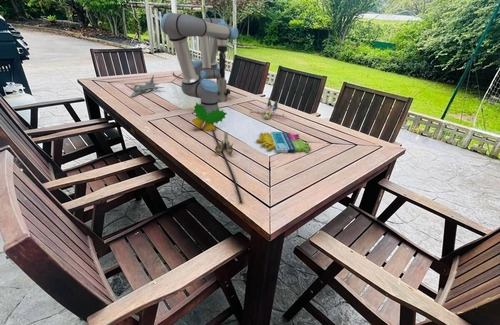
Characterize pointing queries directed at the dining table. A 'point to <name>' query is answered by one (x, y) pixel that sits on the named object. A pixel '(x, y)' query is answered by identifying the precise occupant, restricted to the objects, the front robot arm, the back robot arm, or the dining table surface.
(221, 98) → the bottle
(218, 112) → the ornament
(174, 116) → the dining table surface
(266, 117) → the toy
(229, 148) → the jawbone
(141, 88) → the airplane
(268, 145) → the sign
